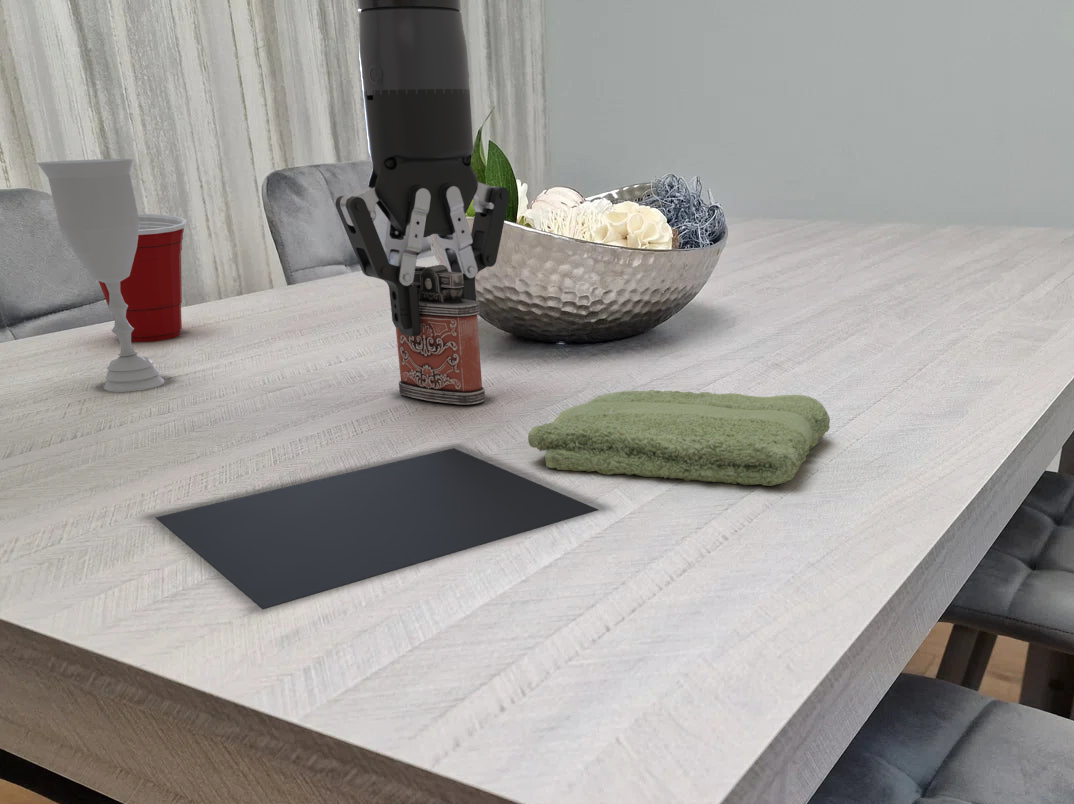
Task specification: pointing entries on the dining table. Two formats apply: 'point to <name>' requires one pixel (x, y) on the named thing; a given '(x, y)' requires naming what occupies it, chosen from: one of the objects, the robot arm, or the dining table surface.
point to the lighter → (442, 342)
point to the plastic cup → (154, 280)
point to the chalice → (104, 246)
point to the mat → (364, 523)
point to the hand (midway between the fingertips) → (436, 329)
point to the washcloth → (686, 436)
